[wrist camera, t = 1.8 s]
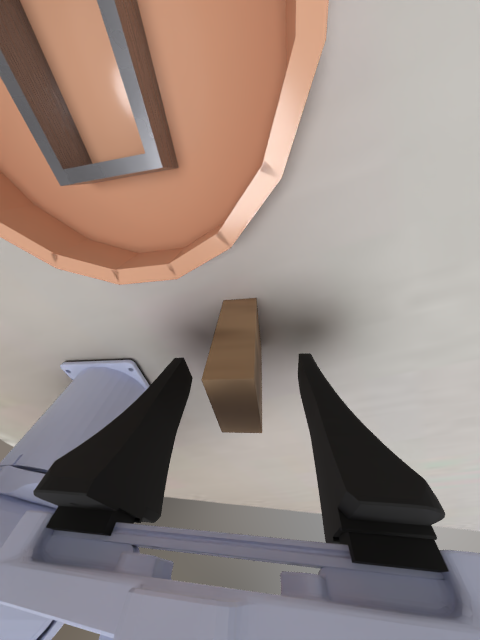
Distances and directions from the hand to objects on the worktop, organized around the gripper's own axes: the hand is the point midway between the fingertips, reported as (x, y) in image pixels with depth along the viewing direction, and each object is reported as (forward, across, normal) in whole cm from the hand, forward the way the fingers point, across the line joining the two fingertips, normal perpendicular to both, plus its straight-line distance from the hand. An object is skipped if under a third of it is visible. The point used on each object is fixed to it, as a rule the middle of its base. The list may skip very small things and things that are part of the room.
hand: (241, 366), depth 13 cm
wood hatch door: (+4, 0, 0) cm, 4 cm away
